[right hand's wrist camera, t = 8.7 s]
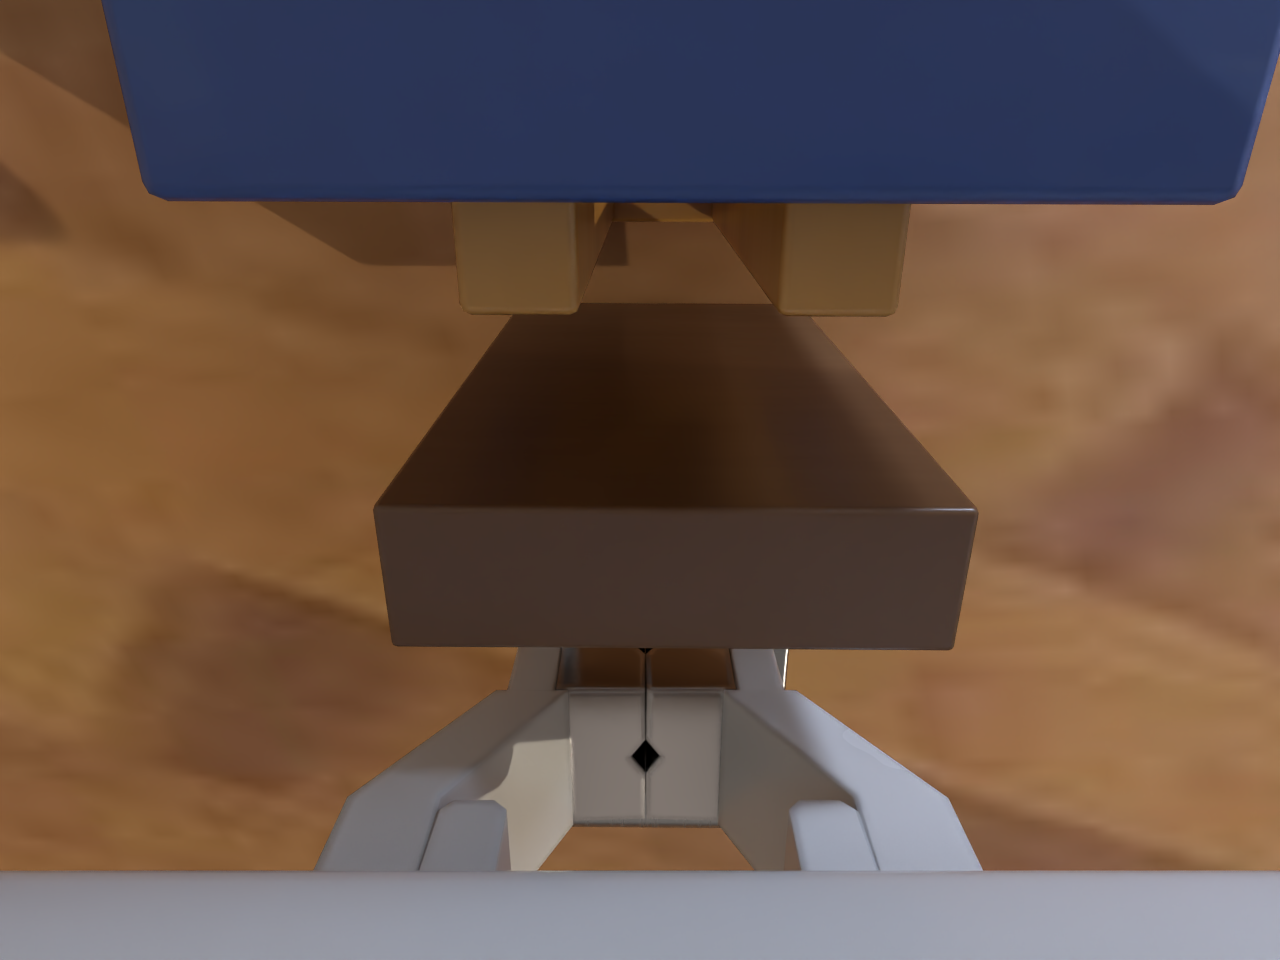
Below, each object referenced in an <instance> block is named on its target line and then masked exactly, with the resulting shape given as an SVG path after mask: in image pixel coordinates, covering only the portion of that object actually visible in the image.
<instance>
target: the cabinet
mask: <svg viewBox="0 0 1280 960" xmlns="http://www.w3.org/2000/svg"><path fill="white" fill-rule="evenodd" d="M101 1H102V5H103V10H104V14H105V18H106V23H107V27H108V32H109V36H110V41H111V45H112V49H113V54H114V58H115V63H116V67H117V71H118V76H119V80H120V85H121V89H122V93H123V98H124V102H125V107H126V111H127V116H128V120H129V124H130V129H131V133H132V138H133V142H134V146H135V151H136V155H137V160H138V164H139V168H140V173H141V177H142V182H143V183H144V185H145V187H146V189H147V191H148V192H149V194H152V195H154V196H157V197H159V198H162V199H164V200H167V201H283V202H563V203H844V204H1124V205H1215V204H1217V203H1220V202H1223V201H1226V200H1228V199H1231V198H1234V197H1235V196H1236V194H1237V193H1238V191H1239V190H1240V188H1241V187H1242V184H1243V181H1244V177H1245V174H1246V170H1247V167H1248V163H1249V160H1250V156H1251V152H1252V149H1253V145H1254V142H1255V138H1256V135H1257V131H1258V127H1259V124H1260V120H1261V117H1262V113H1263V110H1264V106H1265V103H1266V99H1267V95H1268V92H1269V88H1270V85H1271V81H1272V78H1273V74H1274V70H1275V67H1276V63H1277V60H1278V56H1279V53H1280V0H101Z"/></svg>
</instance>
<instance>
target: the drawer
mask: <svg viewBox="0 0 1280 960" xmlns="http://www.w3.org/2000/svg"><path fill="white" fill-rule="evenodd" d="M910 207H911V204H844V203H563V202H451V208H452V220H453V231H454V243H455V255H456V267H457V278H458V290H459V302H460V305H461V307H462V309H463V311H464V312H467V313H469V314H472V315H512V317H511V318H510V319H509V321H508V322H507V323H506V325H505V326H504V328H503V329H502V330H501V332H500V333H499V335H498V336H497V337H496V339H495V340H494V341H493V343H492V344H491V346H490V347H489V348H488V350H487V351H486V352H485V354H484V355H483V357H482V358H481V359H480V361H479V362H478V363H477V365H476V366H475V368H474V369H473V370H472V372H471V373H470V374H469V376H468V377H467V379H466V380H465V381H464V383H463V384H462V385H461V387H460V388H459V390H458V391H457V392H456V394H455V395H454V396H453V398H452V399H451V401H450V402H449V403H448V405H447V406H446V407H445V409H444V410H443V412H442V413H441V414H440V416H439V417H438V418H437V420H436V421H435V423H434V424H433V425H432V427H431V428H430V430H429V431H428V432H427V434H426V435H425V436H424V438H423V439H422V441H421V442H420V443H419V445H418V446H417V447H416V449H415V450H414V452H413V453H412V454H411V456H410V457H409V458H408V460H407V461H406V463H405V464H404V465H403V467H402V468H401V469H400V471H399V472H398V474H397V475H396V476H395V478H394V479H393V480H392V482H391V483H390V485H389V486H388V487H387V489H386V490H385V491H384V493H383V494H382V496H381V497H380V498H379V500H378V501H377V502H376V504H375V506H374V509H373V512H374V519H375V526H376V533H377V540H378V548H379V555H380V562H381V569H382V576H383V583H384V590H385V597H386V604H387V611H388V618H389V625H390V632H391V639H392V643H393V644H394V645H395V646H423V647H562V648H701V649H773V650H774V654H775V657H776V661H777V665H778V668H779V672H780V676H781V679H782V683H783V686H784V690H785V687H786V676H787V665H788V654H789V649H840V650H950V649H952V648H953V647H954V642H955V637H956V632H957V626H958V621H959V616H960V610H961V605H962V600H963V594H964V589H965V584H966V578H967V573H968V568H969V562H970V557H971V552H972V546H973V541H974V536H975V530H976V525H977V520H978V510H977V508H976V507H975V506H974V504H973V503H972V502H971V501H970V500H969V499H968V498H967V496H966V495H965V494H964V493H963V492H962V491H961V490H960V488H959V487H958V486H957V485H956V484H955V483H954V481H953V480H952V479H951V478H950V477H949V476H948V475H947V473H946V472H945V471H944V470H943V469H942V468H941V467H940V465H939V464H938V463H937V462H936V461H935V460H934V458H933V457H932V456H931V455H930V454H929V453H928V452H927V450H926V449H925V448H924V447H923V446H922V445H921V444H920V442H919V441H918V440H917V439H916V438H915V437H914V436H913V434H912V433H911V432H910V431H909V430H908V429H907V427H906V426H905V425H904V424H903V423H902V422H901V421H900V419H899V418H898V417H897V416H896V415H895V414H894V413H893V411H892V410H891V409H890V408H889V407H888V406H887V404H886V403H885V402H884V401H883V400H882V399H881V398H880V396H879V395H878V394H877V393H876V392H875V391H874V390H873V388H872V387H871V386H870V385H869V384H868V383H867V381H866V380H865V379H864V378H863V377H862V376H861V375H860V373H859V372H858V371H857V370H856V369H855V368H854V367H853V365H852V364H851V363H850V362H849V361H848V360H847V358H846V357H845V356H844V355H843V354H842V353H841V352H840V350H839V349H838V348H837V347H836V346H835V345H834V344H833V342H832V341H831V340H830V339H829V338H828V337H827V335H826V334H825V333H824V332H823V331H822V330H821V329H820V327H819V326H818V325H817V324H816V323H815V322H814V321H813V319H812V318H811V317H810V316H864V317H886V316H889V315H891V314H894V313H895V311H896V309H897V307H898V301H899V293H900V285H901V277H902V270H903V262H904V254H905V246H906V239H907V231H908V223H909V215H910ZM612 222H714V223H715V224H716V226H717V227H718V229H719V230H720V231H721V233H722V234H723V236H724V237H725V238H726V240H727V241H728V242H729V244H730V245H731V247H732V248H733V249H734V251H735V252H736V254H737V255H738V256H739V258H740V259H741V261H742V262H743V263H744V265H745V266H746V268H747V269H748V270H749V272H750V273H751V274H752V276H753V277H754V279H755V280H756V281H757V283H758V284H759V286H760V287H761V288H762V290H763V291H764V293H765V294H766V295H767V297H768V298H769V300H770V301H771V302H772V304H624V303H581V300H582V298H583V295H584V293H585V290H586V287H587V285H588V282H589V280H590V277H591V274H592V272H593V269H594V267H595V264H596V261H597V259H598V256H599V254H600V251H601V249H602V246H603V243H604V241H605V238H606V236H607V233H608V230H609V228H610V225H611V223H612ZM572 827H662V828H721V827H720V826H719V825H718V821H710V820H673V819H646V765H645V819H616V820H581V821H573V826H572Z"/></svg>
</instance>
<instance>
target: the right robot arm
mask: <svg viewBox="0 0 1280 960" xmlns="http://www.w3.org/2000/svg"><path fill="white" fill-rule="evenodd" d="M645 765H646V819H673V820H710V821H718V825H719V826H720V827H721V828H722V830H723V831H724V832H725V834H726V835H727V836H728V837H729V839H730V840H731V841H732V842H733V844H734V845H735V846H736V847H737V849H738V850H739V851H740V852H741V854H742V855H743V856H744V857H745V859H746V860H747V861H748V862H749V864H750V865H751V866H752V867H753V869H754V870H755V871H537V870H538V869H539V868H540V866H541V865H542V864H543V863H544V861H545V860H546V859H547V857H548V856H549V855H550V854H551V852H552V851H553V850H554V849H555V847H556V846H557V845H558V843H559V842H560V841H561V840H562V838H563V837H564V836H565V835H566V833H567V832H568V831H569V829H570V828H571V827H572V826H573V821H581V820H616V819H645ZM0 960H1280V871H983V869H982V867H981V865H980V863H979V861H978V859H977V857H976V855H975V853H974V851H973V849H972V846H971V844H970V842H969V840H968V838H967V836H966V834H965V832H964V830H963V828H962V826H961V824H960V821H959V819H958V817H957V815H956V813H955V811H954V809H953V807H952V805H951V803H950V801H949V799H948V798H947V797H946V796H944V795H943V794H942V793H940V792H939V791H937V790H936V789H935V788H933V787H932V786H930V785H929V784H928V783H926V782H925V781H923V780H922V779H920V778H919V777H918V776H916V775H915V774H913V773H912V772H911V771H909V770H908V769H906V768H905V767H904V766H902V765H901V764H899V763H898V762H896V761H895V760H894V759H892V758H891V757H889V756H888V755H887V754H885V753H884V752H882V751H881V750H880V749H878V748H877V747H875V746H874V745H872V744H871V743H870V742H868V741H867V740H865V739H864V738H863V737H861V736H860V735H858V734H857V733H856V732H854V731H853V730H851V729H850V728H849V727H847V726H846V725H844V724H843V723H841V722H840V721H839V720H837V719H836V718H834V717H833V716H832V715H830V714H829V713H827V712H826V711H825V710H823V709H822V708H820V707H819V706H817V705H816V704H815V703H813V702H812V701H810V700H809V699H808V698H806V697H805V696H803V695H802V694H801V693H799V692H798V691H796V690H784V686H783V683H782V679H781V676H780V672H779V668H778V665H777V661H776V657H775V654H774V650H773V649H701V648H562V647H518V650H517V654H516V658H515V661H514V665H513V669H512V673H511V677H510V681H509V685H508V689H507V690H496V691H494V692H493V693H492V694H490V695H489V696H487V697H486V698H485V699H483V700H482V701H480V702H479V703H478V704H476V705H475V706H473V707H472V708H471V709H469V710H468V711H466V712H465V713H464V714H462V715H461V716H460V717H458V718H457V719H455V720H454V721H453V722H451V723H450V724H448V725H447V726H446V727H444V728H443V729H441V730H440V731H439V732H437V733H436V734H434V735H433V736H432V737H430V738H429V739H427V740H426V741H425V742H423V743H422V744H421V745H419V746H418V747H416V748H415V749H414V750H412V751H411V752H409V753H408V754H407V755H405V756H404V757H402V758H401V759H400V760H398V761H397V762H395V763H394V764H393V765H391V766H390V767H389V768H387V769H386V770H384V771H383V772H382V773H380V774H379V775H377V776H376V777H375V778H373V779H372V780H370V781H369V782H368V783H366V784H365V785H363V786H362V787H361V788H359V789H358V790H356V791H355V792H354V793H352V794H351V795H350V796H348V797H347V799H346V801H345V803H344V805H343V808H342V810H341V812H340V814H339V816H338V818H337V821H336V823H335V825H334V827H333V829H332V831H331V834H330V836H329V838H328V840H327V842H326V844H325V846H324V849H323V851H322V853H321V855H320V857H319V859H318V862H317V864H316V866H315V868H314V870H313V871H0Z"/></svg>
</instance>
